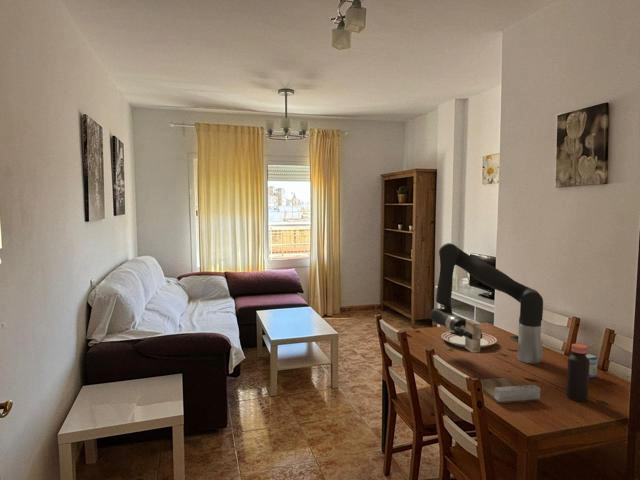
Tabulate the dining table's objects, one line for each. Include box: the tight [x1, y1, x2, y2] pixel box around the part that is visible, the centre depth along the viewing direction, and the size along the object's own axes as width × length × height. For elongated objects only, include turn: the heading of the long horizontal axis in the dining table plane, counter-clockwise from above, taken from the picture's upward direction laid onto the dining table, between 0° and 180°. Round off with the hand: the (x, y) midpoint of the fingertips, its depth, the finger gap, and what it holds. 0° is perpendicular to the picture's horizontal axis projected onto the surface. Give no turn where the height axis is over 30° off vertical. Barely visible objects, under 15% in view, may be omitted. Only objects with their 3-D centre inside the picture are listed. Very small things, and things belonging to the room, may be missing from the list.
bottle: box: [565, 343, 590, 403], centre depth 152 cm, size 7×7×20 cm
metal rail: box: [494, 384, 541, 402], centre depth 149 cm, size 16×3×4 cm, turn 98°
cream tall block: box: [464, 319, 482, 353], centre depth 172 cm, size 4×6×12 cm, turn 8°
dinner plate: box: [441, 330, 498, 349], centre depth 217 cm, size 28×27×3 cm
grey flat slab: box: [480, 377, 539, 405], centre depth 158 cm, size 16×18×1 cm
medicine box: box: [586, 353, 598, 379], centre depth 173 cm, size 8×4×9 cm, turn 106°
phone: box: [509, 335, 518, 343], centre depth 218 cm, size 8×1×15 cm
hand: (476, 336), depth 169 cm, fingers closed on cream tall block, 3 cm apart
